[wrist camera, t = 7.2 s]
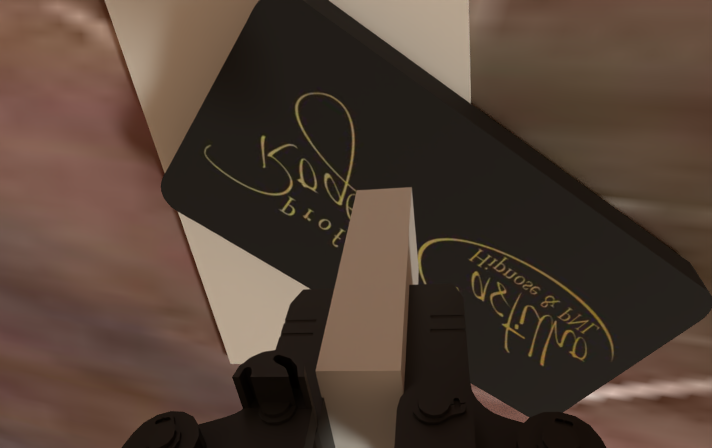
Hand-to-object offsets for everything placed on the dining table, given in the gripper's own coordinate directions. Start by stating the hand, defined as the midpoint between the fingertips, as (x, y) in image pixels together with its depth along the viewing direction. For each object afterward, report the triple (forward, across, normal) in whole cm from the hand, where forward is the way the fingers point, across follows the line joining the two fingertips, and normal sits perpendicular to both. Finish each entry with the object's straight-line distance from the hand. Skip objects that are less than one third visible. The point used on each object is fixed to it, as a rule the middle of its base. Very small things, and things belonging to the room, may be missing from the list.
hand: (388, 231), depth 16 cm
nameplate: (+6, +5, 0) cm, 8 cm away
